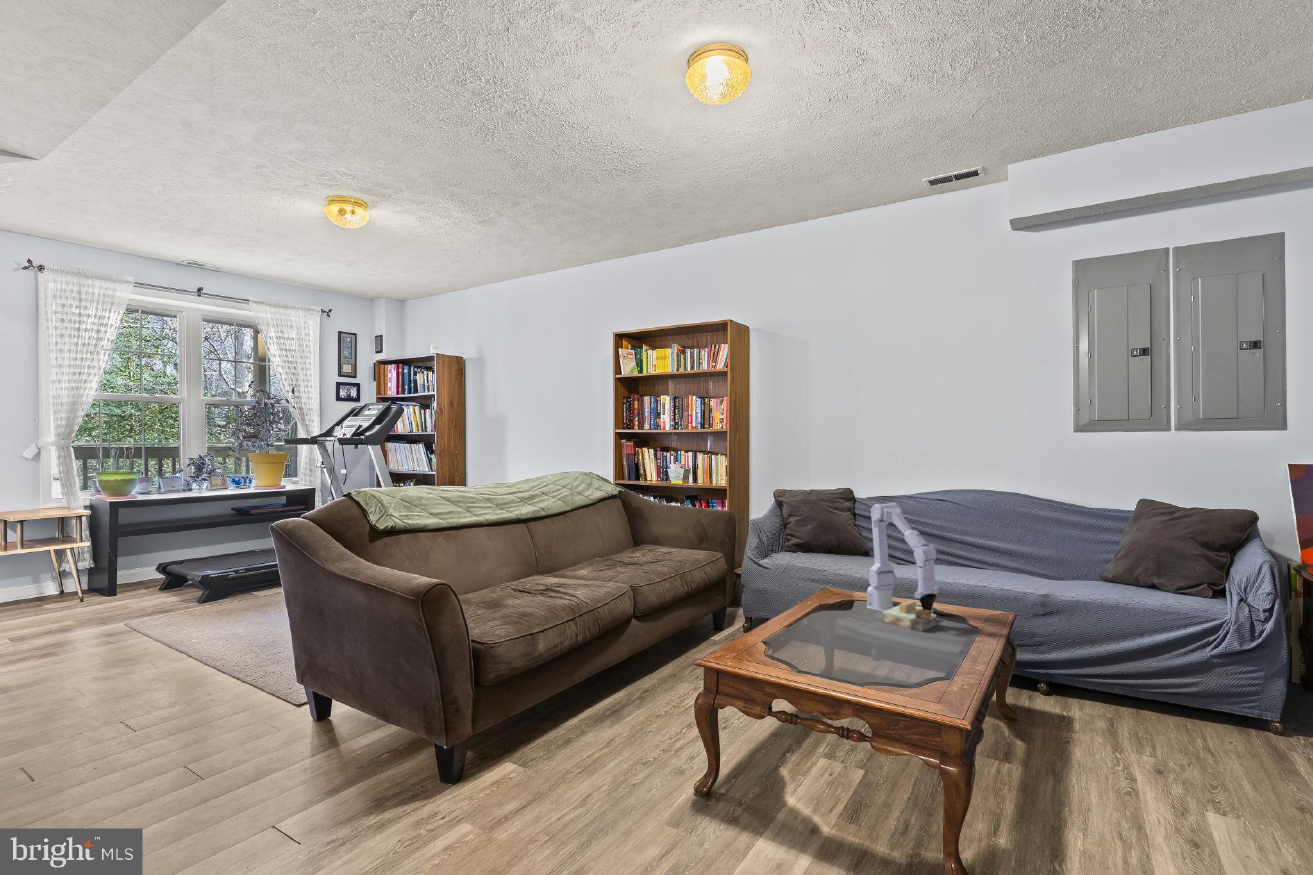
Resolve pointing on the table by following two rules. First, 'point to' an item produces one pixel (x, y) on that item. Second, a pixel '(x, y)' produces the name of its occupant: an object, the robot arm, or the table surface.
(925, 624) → the wooden tray
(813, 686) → the table surface
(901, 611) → the lid
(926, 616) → the bolt
